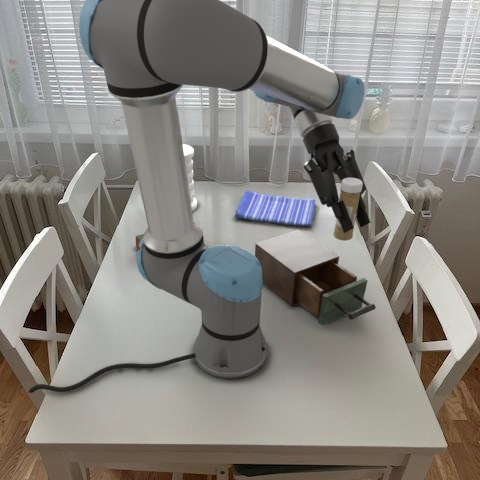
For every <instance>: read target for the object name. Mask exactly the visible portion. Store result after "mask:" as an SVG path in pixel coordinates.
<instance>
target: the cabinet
mask: <svg viewBox="0 0 480 480" xmlns="http://www.w3.org/2000/svg"><path fill="white" fill-rule="evenodd" d="M254 256H255V257H256V258H257V259H258V260H259V262H260V264H261V268H262V280H263V285H265V286H266V287H267V288H268V289H269V290H271V291H272V292H273V293H274V294H276V296H278V297H279V298H280V299H282V300H283V301H284V302H285V303H286V304H287V305H288V306H290V307H293V306H296V305H298V304H299V303H298V302H297V301H296V300H294V299H295V290H296V280H297V275H298V274H300V273H303V272H306V271H308V270H311V269H314V268H316V267H319V266H322V265H324V264H327V263H330V262H332V261H334V262H336V263H337V264H339V262H340V261H339V260H340V255H338V254H337V253H335V252H333V251H332V250H331V249H329V248H328V247H326V246H324V245H323V244H321V243H319V242H318V241H316V240H315V239H314V238H312V237H310V236H309V235H308V234H306V233H304V232H303V231H301V230H300V229H296V230H293V231H289V232H287V233H283V234H280V235H276V236H274V237H271V238H268V239H267V238H266V239H265V240H261V241H258V242H255V245H254Z"/></svg>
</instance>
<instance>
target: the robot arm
mask: <svg viewBox="0 0 480 480" xmlns="http://www.w3.org/2000/svg"><path fill="white" fill-rule="evenodd" d="M78 28H79V29H78V31H79V39H80V43H81V46H82V49H83V50H84V53H85V55H86V56H87V57H88V59H89V60H90V61H92V63H94V65H96V66H97V67H99V68H101V69H103V73H104V77H105V81H106V85H107V90H108V93H109V95H111V96H112V97H114V98H115V99H116V100H118V101H119V102H120V103H121V106H122V112H123V116H124V121H125V125H126V130H127V135H128V139H129V144H130V150H131V153H132V157H133V158H132V159H133V163H134V167H135V172H136V177H137V181H138V186H139V191H140V194H141V200H142V205H143V208H144V213H145V219H146V223H147V228H146V229H145V230H144V232H143V233H142V234H143V238H142V239H141V241H140V243H139V247H140V250H137V251H136V255H135V260H136V267H137V269H138V272H139V273H140V275H141V277H142V278H143V279H144V280H145V281H147V282H148V283H150V284H151V285H152V286H153V287H155V288H157V289H158V290H162V291H164V292H166V293H168V294H170V295H172V296H174V297H176V298H178V299H180V300H182V301H184V302H186V303H188V304H190V305H192V306H194V307H196V308H197V309H199V310H200V312H201V326H200V328H199V331H198V335H197V337H196V339H195V342H194V344H193V353H189V354H186V355H182V356H177V357H175V358H170V359H167V360H164V361H160V362H156V363H132V362H131V363H129V362H126V363H115V364H112V365H108V366H105V367H103V368H101V369H99V370H96V371H95V372H94V373H92V374H90V375H89V376H87V377H86V378H84V379H82V380H80V381H79V382H76V383H74V384H72V385H68V386H54V385H50V384H45V383H39V384H36V385H33V386H32V387H31V388H29V390H28V393H29V394H32V393H35V392H36V391H38V390H46V391H50V392H56V393H67V392H71V391H74V390H77V389H79V388H82V387H83V386H85V385H87V384H89V383H90V382H91V381H93V380H94V379H96V378H98V377H99V376H101V375H103V374H105V373H108V372H110V371H114V370H120V369H156V368H157V369H158V368H162V367H167V366H170V365H172V364H176V363H180V362H183V361H187V360H191V359H194V360H195V363H196V364H197V366H198V367H199V368H200V369H201V370H202V371H203V372H205V373H206V374H208V375H210V376H212V377H215V378H220V379H223V380H237V379H242V378H246V377H249V376H251V375H253V374H255V373H257V372H258V371H259V370H260V369H262V367H263V366H264V364H265V363H266V360H267V355H268V345H267V342H266V339H265V335H264V333H263V330H262V328H261V310H262V309H261V308H262V295H263V289H264V284H263V280H262V268H261V264H260V262H259V260H258V259H257V258H256V257H255V254H254V253H252V252H251V251H249V250H248V249H246V248H244V247H241V246H239V245H235V244H231V245H230V246H228V245H227V244H224V243H223V244H216V245H212V246H207V245H206V244H205V239H204V231H203V227H202V226H201V224H200V223H198V222H197V221H195V220H194V216H193V215H194V214H193V211H192V208H191V201H190V193H189V186H188V179H187V172H186V165H185V158H184V150H183V144H184V143H183V137H182V129H181V123H180V116H179V108H178V101H177V100H178V99H177V94H178V93H179V92H180V90H181V89H182V87H183V86H193V87H205V88H206V87H207V88H214V89H217V88H218V89H222V90H227V91H229V92H233V93H242V92H244V91H247V90H250V91H252V92H253V93H254V94H255V96H256V98H258V99H260V100H263V101H264V102H265V103H270V104H271V103H272V104H276V105H282V106H285V107H288V108H289V110H290V112H291V115H292V117H293V120H294V123H295V125H296V127H297V130H298V132H299V136H300V137H301V138H302V142H303V144H304V147H305V149H306V152H307V153H308V155H310V159H309V160H307V161H306V162H305V163H304V164H303V170H305V171H306V173H307V174H308V176H309V179H310V180H311V183H312V185H313V188H314V190H315V192H316V194H317V197H318V199H319V202H320V204H321V205H322V206H326V207H327V208H331V210H332V212H333V214H334V218H335V219H336V218H337V219H339V222H340V224H341V227H342V229H343V232H344V233H346V232H348V231H350V230H351V229H353V228H354V229H355V226H354V227H353V224H352V222H351V219H350V217H349V214H348V212H347V209H346V207H345V205H344V202H343V200H342V201H340V202H339V199H340V196H339V193H338V188H337V185H336V179H335V175H336V176H337V177H338V179H339V181H340V182H342V180H343V179H344V178H357V179H359V180H361V181H362V182H363V186H362V191H361V193H360V197H359V202H358V209H357V215H356V221H357V222H358V225H359V227H360V228H364V227H365V226H367V225H369V224H370V223H371V220H370V217H369V214H368V213H367V210H366V209H367V206H366V204H365V201H364V198H363V194H364V193H365V192H366V191H367V186H366V182H365V181H364V179H363V175H362V173H361V170H360V168H359V165H358V163H357V160H356V153H355V150H353V149H350V150H349V151H348V150H344V148H343V147H342V146H341V144H340V135H339V132H338V131H337V128H336V125H335V124H334V123H333V119H332V117H333V118H336V119H344V120H352V119H353V118H355V116H357V115H358V113H359V112H360V110H361V108H362V106H363V102H364V99H365V91H366V89H365V84H364V80H362V79H361V78H360V77H357V76H353V75H351V74H344V73H339V72H337V71H335V70H333V69H330V68H328V67H327V66H325V65H323V64H321V63H320V62H317V61H315V60H314V59H311V58H309V57H308V56H306V55H304V54H302V53H300V52H299V51H296V50H294V49H293V48H291V47H288V46H287V45H285V44H283V43H281V42H280V41H277V40H276V39H274V38H272V37H270V36H268V35H267V33H266V31H265V28H263V26H262V25H261V24H260V23H259V22H258V21H257V20H255V19H253V18H252V17H250V16H248V15H247V14H244V13H242V12H241V11H240V10H237V9H235V8H234V7H232V6H231V5H229V4H227V3H225V2H223V1H222V0H85V1H84V4H83V5H82V7H81V10H80V13H79V21H78Z"/></svg>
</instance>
